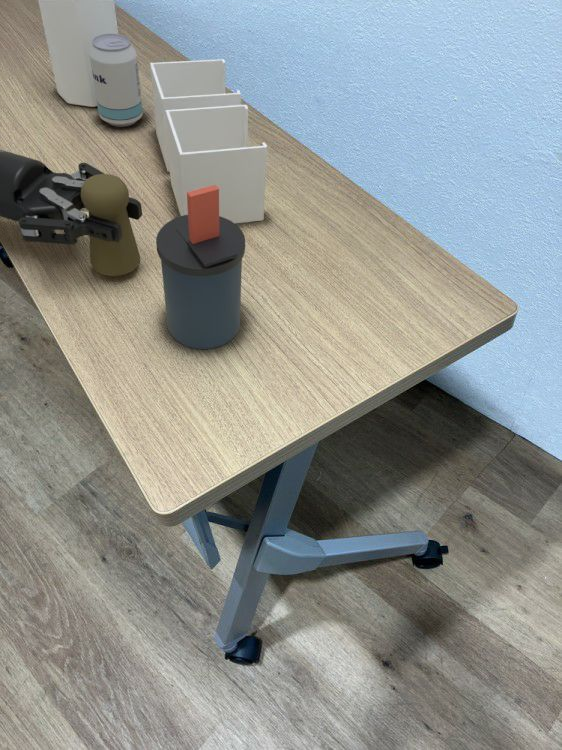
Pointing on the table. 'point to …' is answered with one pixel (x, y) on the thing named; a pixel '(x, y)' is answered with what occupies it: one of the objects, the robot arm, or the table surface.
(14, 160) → the robot arm
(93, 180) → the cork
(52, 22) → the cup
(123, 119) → the beverage can
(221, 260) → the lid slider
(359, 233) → the table surface
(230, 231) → the travel cup
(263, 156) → the storage container
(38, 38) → the table surface
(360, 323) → the table surface
